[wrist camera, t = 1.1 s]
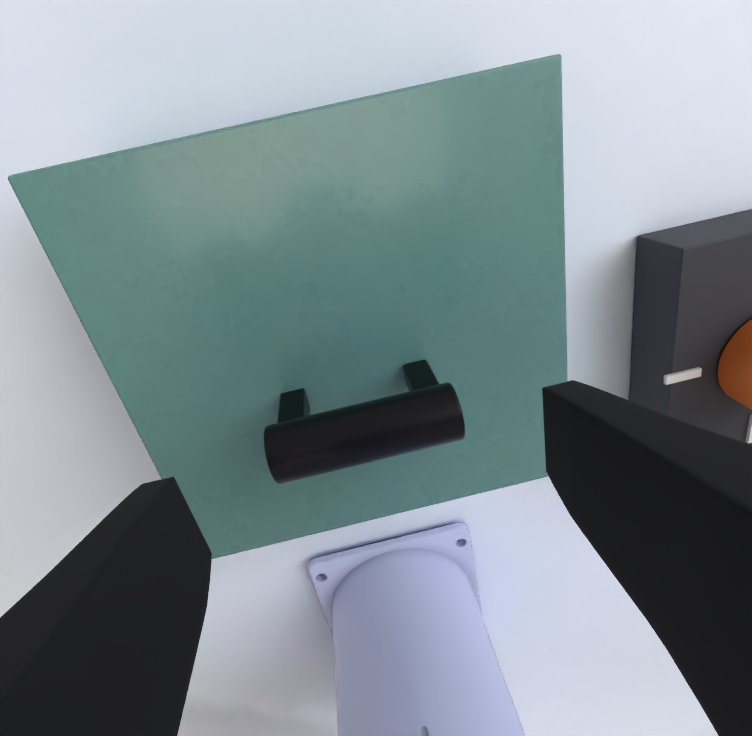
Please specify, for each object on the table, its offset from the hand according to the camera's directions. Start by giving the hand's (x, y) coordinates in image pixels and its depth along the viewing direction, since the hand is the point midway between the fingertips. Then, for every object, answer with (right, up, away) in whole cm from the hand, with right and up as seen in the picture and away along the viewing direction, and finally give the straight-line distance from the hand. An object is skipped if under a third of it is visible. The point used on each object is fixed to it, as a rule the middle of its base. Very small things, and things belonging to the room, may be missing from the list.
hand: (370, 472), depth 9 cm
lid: (-1, +3, +4) cm, 5 cm away
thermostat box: (+15, +4, +11) cm, 19 cm away
